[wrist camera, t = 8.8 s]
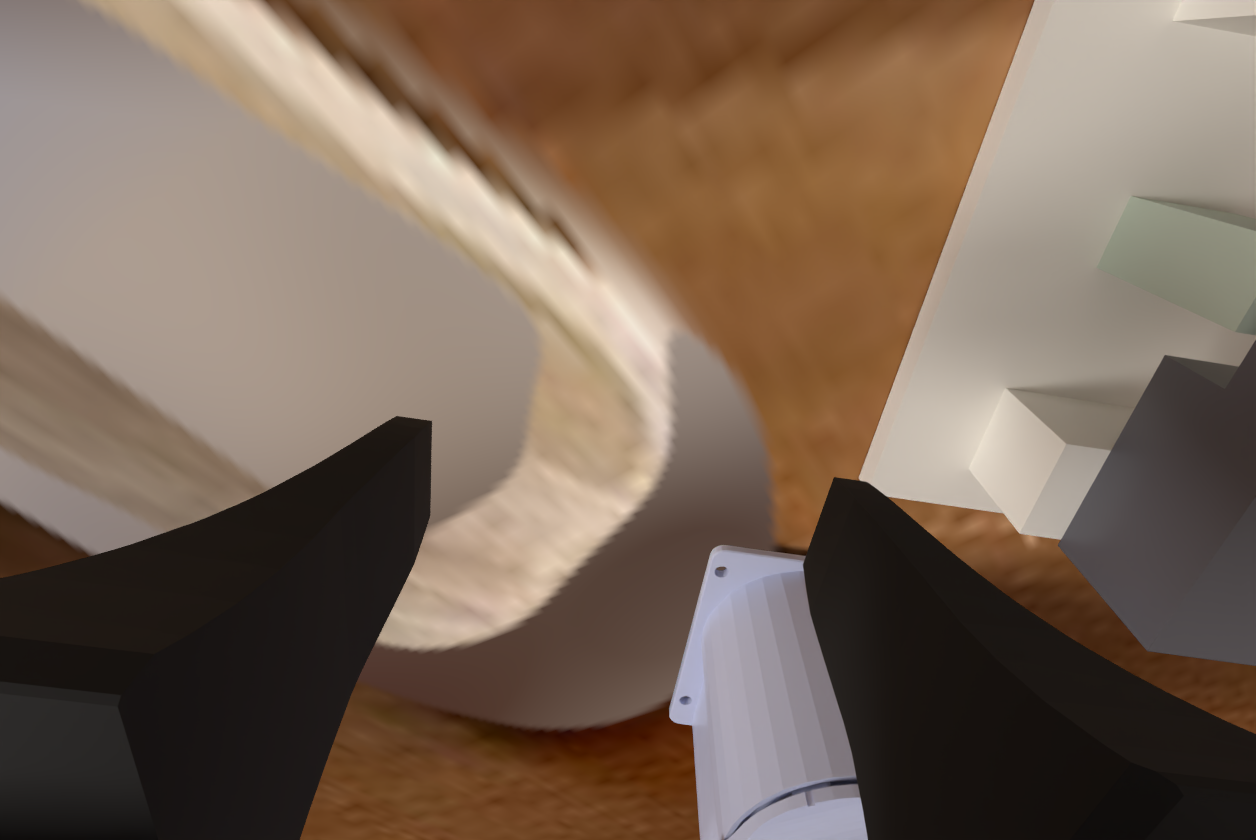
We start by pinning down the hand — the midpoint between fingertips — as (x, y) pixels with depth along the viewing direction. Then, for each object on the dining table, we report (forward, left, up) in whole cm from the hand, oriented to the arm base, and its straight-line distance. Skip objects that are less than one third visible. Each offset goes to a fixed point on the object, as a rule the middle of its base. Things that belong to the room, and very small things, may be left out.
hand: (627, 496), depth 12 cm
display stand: (+5, -14, -10) cm, 18 cm away
